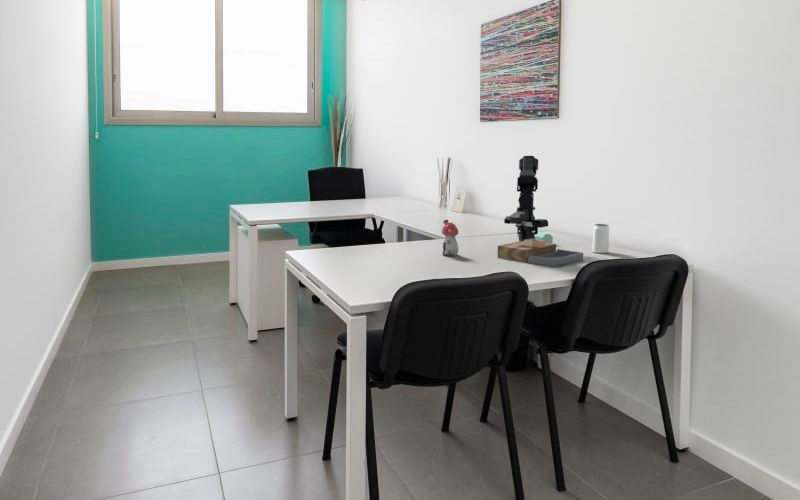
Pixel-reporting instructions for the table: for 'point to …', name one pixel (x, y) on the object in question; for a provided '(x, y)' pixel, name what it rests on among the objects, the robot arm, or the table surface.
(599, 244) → the can
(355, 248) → the table surface
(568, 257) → the box
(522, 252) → the walnut plate
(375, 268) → the table surface
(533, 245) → the terracotta tile
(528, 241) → the cream tile
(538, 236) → the container
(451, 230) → the decorative ornament
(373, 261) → the table surface
